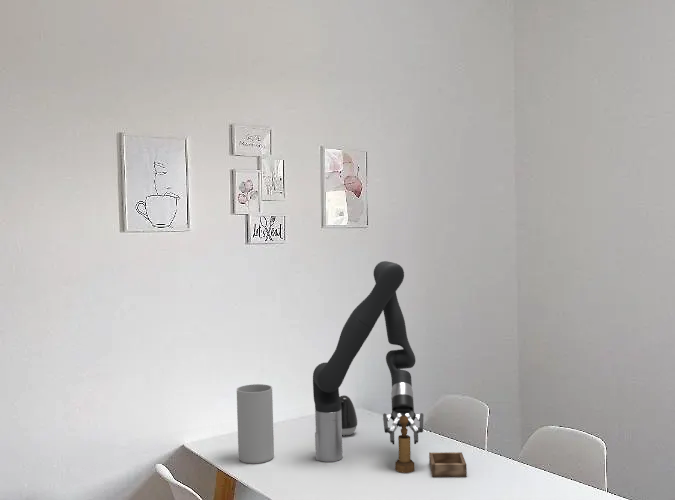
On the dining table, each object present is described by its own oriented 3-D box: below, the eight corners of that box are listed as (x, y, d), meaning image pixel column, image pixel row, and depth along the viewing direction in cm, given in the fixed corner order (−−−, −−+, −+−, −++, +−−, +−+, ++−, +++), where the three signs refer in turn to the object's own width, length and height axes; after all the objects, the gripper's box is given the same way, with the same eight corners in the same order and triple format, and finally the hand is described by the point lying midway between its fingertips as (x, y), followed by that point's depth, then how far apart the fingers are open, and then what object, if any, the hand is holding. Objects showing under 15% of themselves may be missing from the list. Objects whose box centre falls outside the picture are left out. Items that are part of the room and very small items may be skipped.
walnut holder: (432, 477, 221) (431, 464, 221) (429, 464, 233) (429, 452, 233) (466, 476, 221) (466, 464, 220) (462, 464, 233) (461, 452, 232)
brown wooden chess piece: (413, 473, 225) (412, 419, 224) (393, 472, 226) (392, 418, 225) (415, 466, 231) (414, 413, 231) (396, 465, 233) (395, 413, 232)
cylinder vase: (231, 459, 243) (229, 389, 243) (258, 450, 253) (256, 382, 252) (254, 466, 235) (252, 394, 234) (281, 457, 244) (279, 387, 243)
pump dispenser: (328, 437, 266) (327, 398, 266) (336, 429, 276) (335, 391, 276) (353, 438, 263) (352, 399, 263) (360, 430, 273) (359, 393, 273)
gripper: (381, 393, 236) (382, 437, 224) (423, 393, 235) (426, 437, 224) (381, 404, 241) (382, 448, 230) (422, 404, 240) (425, 448, 229)
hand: (404, 443), depth 227 cm, fingers open, 6 cm apart
